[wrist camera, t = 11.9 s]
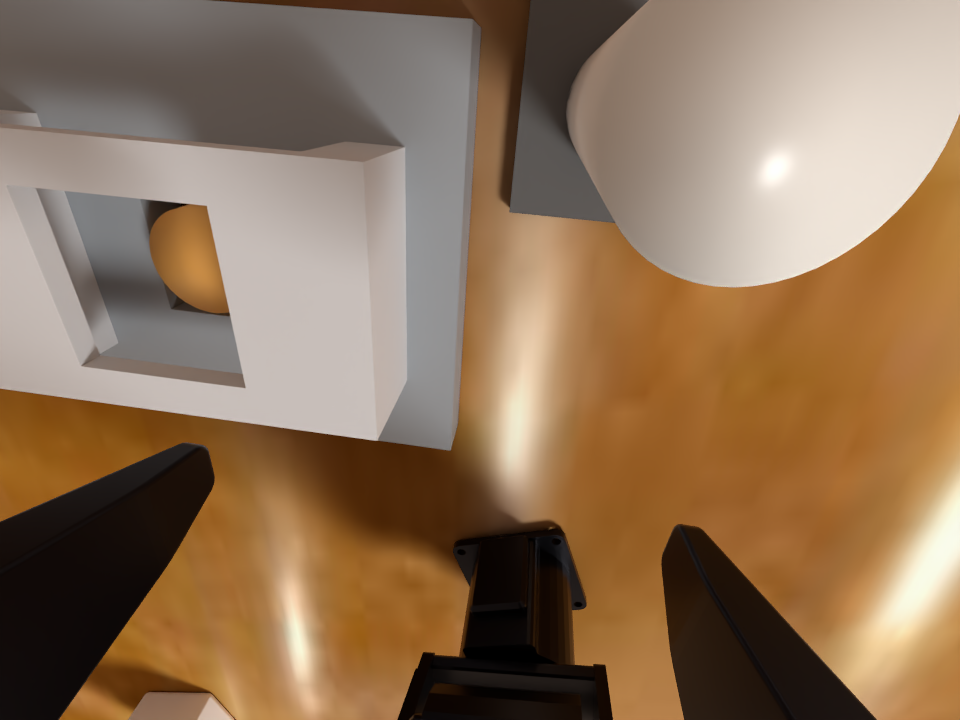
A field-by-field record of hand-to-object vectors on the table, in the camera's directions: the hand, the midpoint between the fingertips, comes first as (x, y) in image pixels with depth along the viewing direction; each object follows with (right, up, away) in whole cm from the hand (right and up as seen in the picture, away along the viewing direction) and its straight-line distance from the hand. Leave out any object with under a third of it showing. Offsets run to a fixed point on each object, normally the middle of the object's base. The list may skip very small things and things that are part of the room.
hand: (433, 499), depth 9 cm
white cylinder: (+6, +11, +6) cm, 14 cm away
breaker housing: (-9, +8, +11) cm, 16 cm away
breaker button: (-9, +7, +11) cm, 16 cm away
